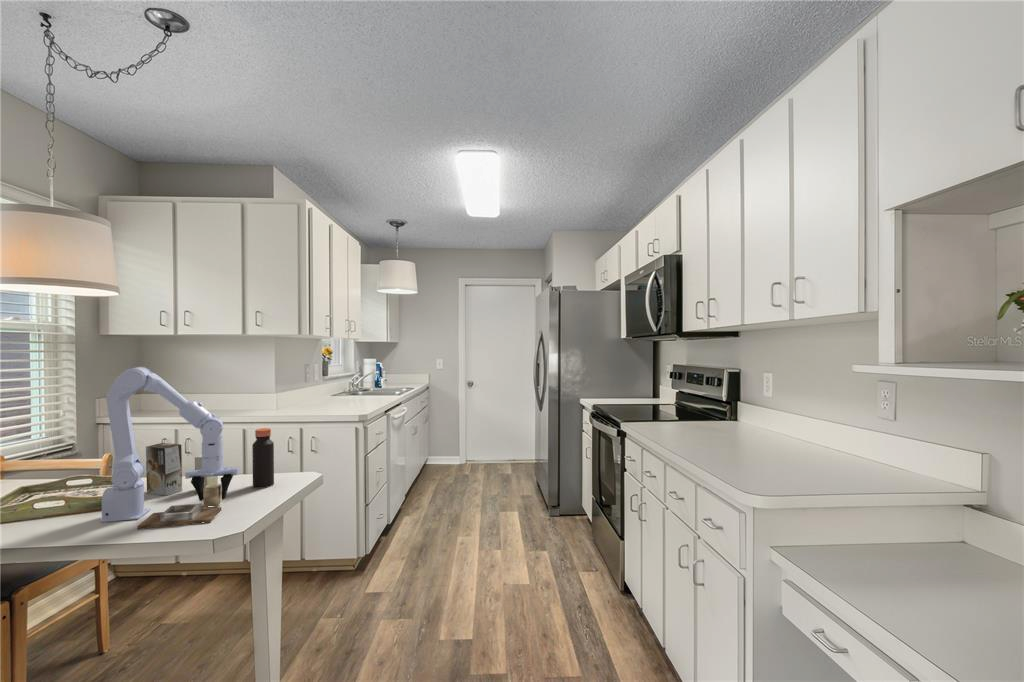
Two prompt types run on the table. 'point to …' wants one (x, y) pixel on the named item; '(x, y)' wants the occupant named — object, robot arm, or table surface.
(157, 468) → the coffee box
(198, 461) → the skincare box
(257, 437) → the bottle
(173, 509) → the socket stand
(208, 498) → the peg
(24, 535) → the table surface
